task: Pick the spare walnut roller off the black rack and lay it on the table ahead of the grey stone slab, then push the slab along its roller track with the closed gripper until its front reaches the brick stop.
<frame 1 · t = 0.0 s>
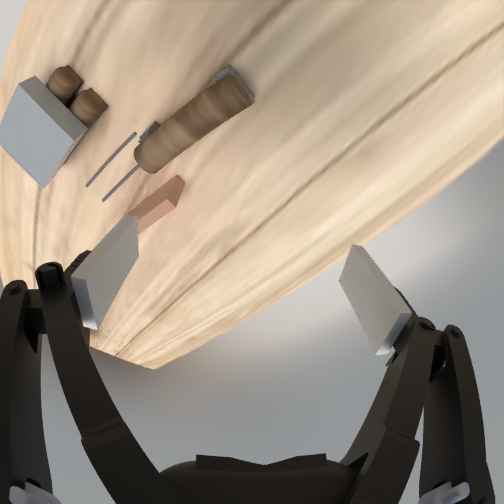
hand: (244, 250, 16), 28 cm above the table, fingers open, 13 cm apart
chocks: (0, 50, 19), on the table
stop: (151, 201, 47), on the table
roller b: (75, 128, 35), on the table
slab: (36, 133, 27), point 7 cm above the table, slide at 0.0 cm
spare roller: (192, 119, 32), point 4 cm above the table, touching rack
plant pot: (80, 319, 86), on the table
roller a: (53, 106, 31), on the table
rack: (197, 111, 35), on the table
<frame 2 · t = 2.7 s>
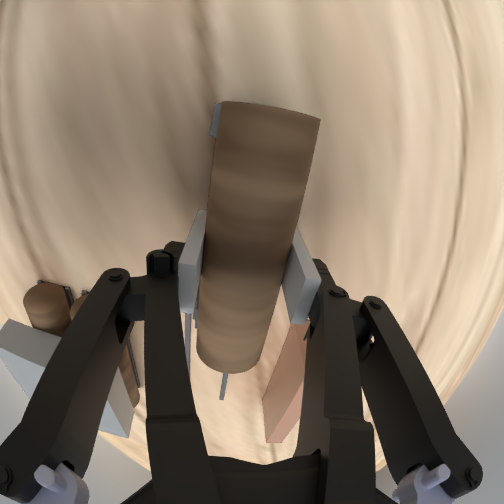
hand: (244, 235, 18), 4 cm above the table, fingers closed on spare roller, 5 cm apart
stop: (283, 367, 30), on the table
roller b: (114, 344, 28), on the table
slab: (64, 384, 21), point 7 cm above the table, slide at 0.0 cm
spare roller: (244, 235, 18), point 4 cm above the table, touching gripper, rack
roller a: (70, 333, 27), on the table
rack: (243, 215, 21), on the table
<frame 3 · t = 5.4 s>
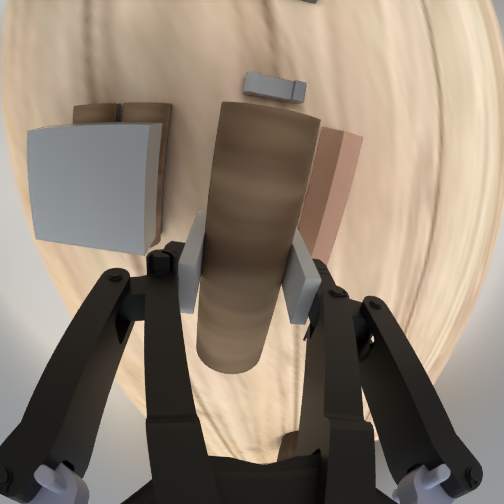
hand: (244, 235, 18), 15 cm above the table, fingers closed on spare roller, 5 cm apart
stop: (315, 192, 32), on the table
roller b: (146, 169, 30), on the table
slab: (88, 183, 22), point 7 cm above the table, slide at 0.0 cm
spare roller: (244, 236, 18), point 15 cm above the table, touching gripper
plant pot: (295, 434, 66), on the table
roller a: (100, 166, 29), on the table
rack: (281, 36, 22), on the table
when the fingers open (2 cm above the table, at t = 8.1 s): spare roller drops 2 cm, on the table.
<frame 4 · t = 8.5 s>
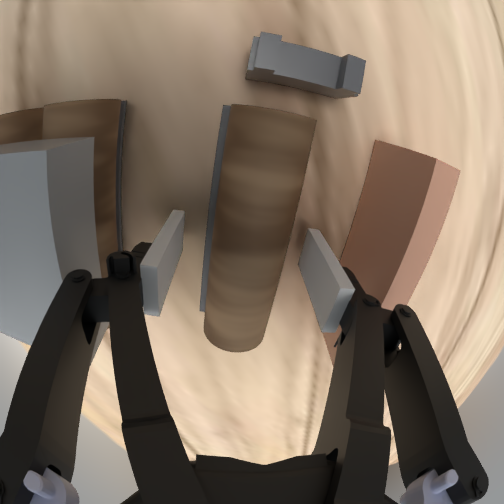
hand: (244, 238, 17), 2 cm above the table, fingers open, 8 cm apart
stop: (357, 242, 20), on the table
roller b: (95, 207, 18), on the table
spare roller: (243, 223, 19), on the table, tilted 10°
roller a: (37, 202, 17), on the table
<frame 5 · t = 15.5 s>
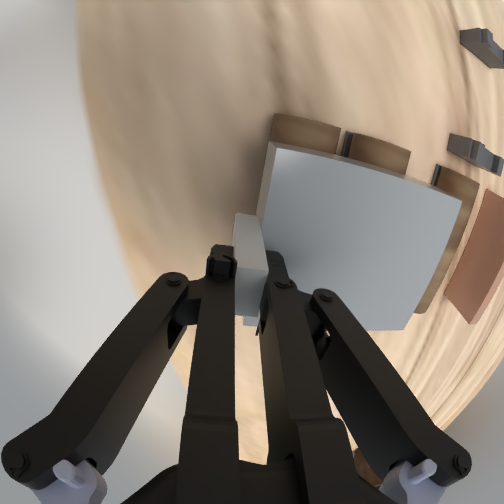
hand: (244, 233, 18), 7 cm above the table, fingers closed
stop: (470, 245, 27), on the table
roller b: (347, 216, 25), on the table
slab: (352, 249, 18), point 7 cm above the table, slide at 1.4 cm, touching gripper
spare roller: (429, 233, 27), on the table, tilted 10°
plant pot: (365, 446, 61), on the table
roller a: (284, 205, 25), on the table
rack: (473, 97, 18), on the table
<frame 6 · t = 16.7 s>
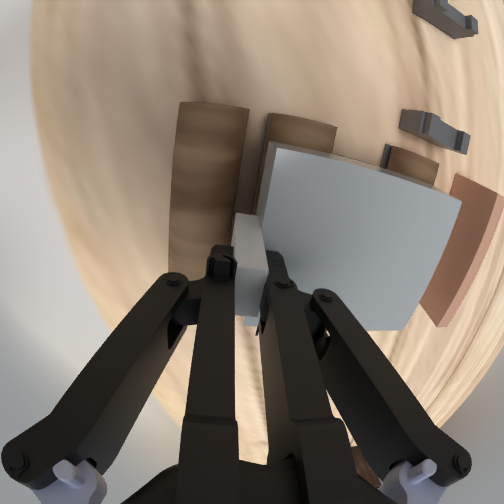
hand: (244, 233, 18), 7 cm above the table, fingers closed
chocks: (31, 184, 21), on the table
stop: (440, 237, 27), on the table
roller b: (278, 204, 25), on the table
slab: (352, 249, 18), point 7 cm above the table, slide at 8.5 cm, touching gripper
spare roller: (383, 223, 26), on the table, tilted 6°
plant pot: (346, 450, 60), on the table
roller a: (207, 195, 24), on the table
rack: (432, 69, 17), on the table
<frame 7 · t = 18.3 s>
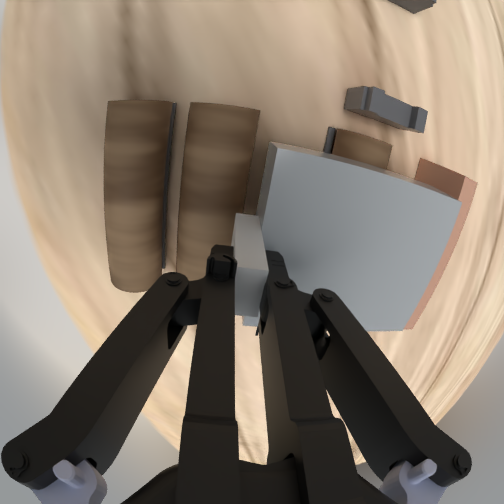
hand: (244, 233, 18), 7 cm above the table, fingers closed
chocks: (1, 183, 21), on the table
stop: (405, 229, 26), on the table
roller b: (212, 195, 24), on the table
slab: (352, 249, 18), point 7 cm above the table, slide at 14.5 cm, touching gripper
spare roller: (333, 214, 25), on the table
roller a: (144, 188, 23), on the table
rack: (385, 45, 17), on the table
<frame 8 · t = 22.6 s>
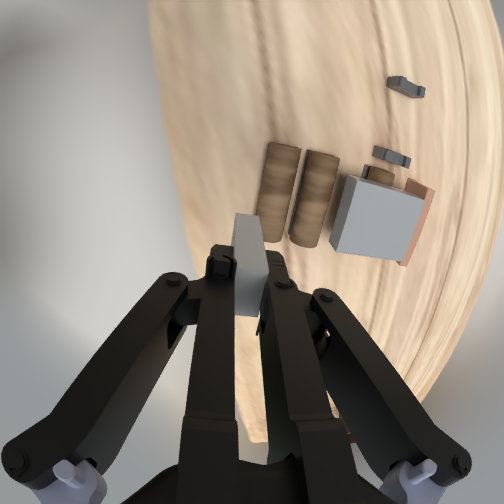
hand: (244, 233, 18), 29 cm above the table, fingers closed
stop: (400, 215, 49), on the table
roller b: (309, 194, 47), on the table
slab: (378, 220, 42), point 7 cm above the table, slide at 14.7 cm
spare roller: (364, 206, 49), on the table, tilted 7°
roller a: (274, 188, 47), on the table
rack: (394, 120, 40), on the table
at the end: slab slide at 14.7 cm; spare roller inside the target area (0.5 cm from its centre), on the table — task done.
